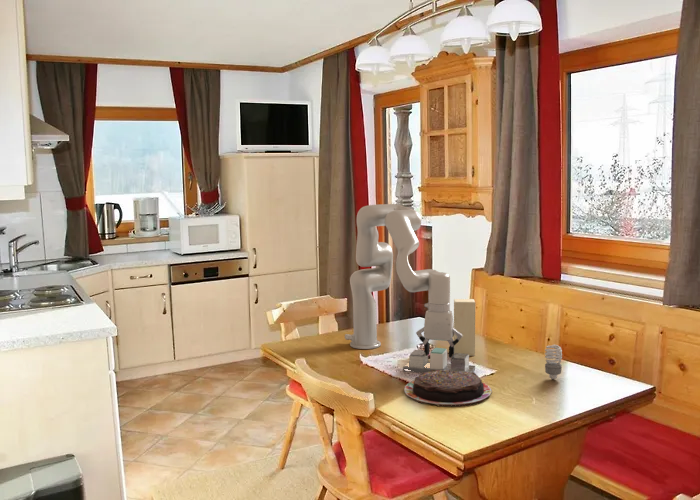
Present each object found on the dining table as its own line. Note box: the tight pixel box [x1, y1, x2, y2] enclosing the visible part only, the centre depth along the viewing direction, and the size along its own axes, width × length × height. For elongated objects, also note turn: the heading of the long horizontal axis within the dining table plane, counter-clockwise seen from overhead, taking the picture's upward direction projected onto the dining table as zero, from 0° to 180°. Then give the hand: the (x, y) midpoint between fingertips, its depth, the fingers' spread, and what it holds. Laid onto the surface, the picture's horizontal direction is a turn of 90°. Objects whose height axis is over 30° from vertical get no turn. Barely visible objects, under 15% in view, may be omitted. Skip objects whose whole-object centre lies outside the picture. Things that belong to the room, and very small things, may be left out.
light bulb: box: [544, 344, 563, 381], centre depth 223 cm, size 6×6×12 cm
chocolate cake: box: [403, 369, 493, 407], centre depth 213 cm, size 28×28×7 cm
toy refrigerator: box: [453, 298, 476, 357], centre depth 257 cm, size 8×7×21 cm
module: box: [429, 347, 448, 369], centre depth 237 cm, size 4×6×6 cm
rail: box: [402, 349, 476, 374], centre depth 237 cm, size 24×9×6 cm, turn 69°
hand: (439, 355), depth 237 cm, fingers open, 8 cm apart
